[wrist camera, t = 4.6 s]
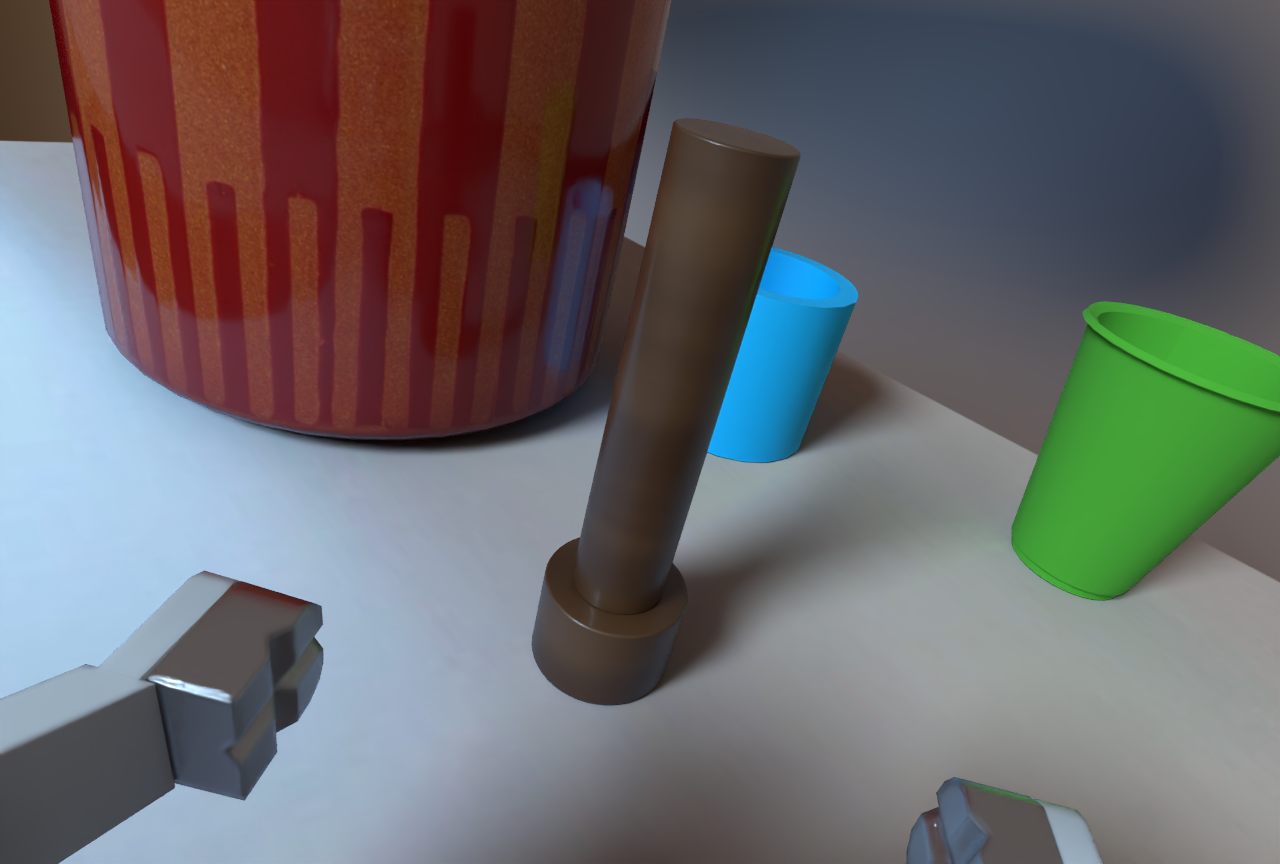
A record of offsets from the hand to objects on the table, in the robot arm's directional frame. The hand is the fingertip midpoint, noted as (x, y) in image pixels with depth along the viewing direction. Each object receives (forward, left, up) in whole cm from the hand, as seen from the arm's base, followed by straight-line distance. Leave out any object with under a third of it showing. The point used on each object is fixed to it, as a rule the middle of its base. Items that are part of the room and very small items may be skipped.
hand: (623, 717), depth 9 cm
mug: (+30, -5, -11) cm, 32 cm away
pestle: (+11, 0, -11) cm, 15 cm away
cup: (+23, -20, -11) cm, 32 cm away
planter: (+28, +15, -11) cm, 33 cm away
